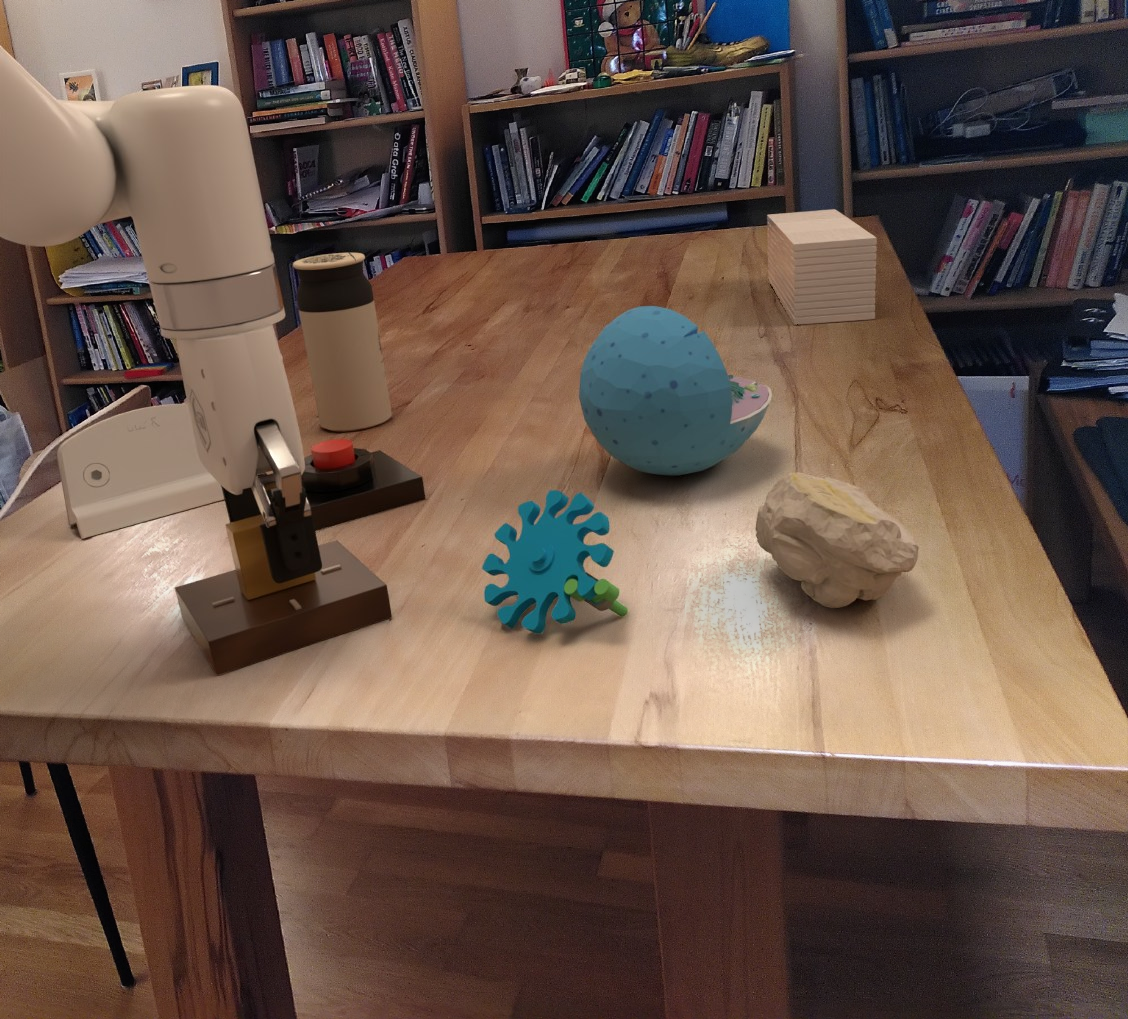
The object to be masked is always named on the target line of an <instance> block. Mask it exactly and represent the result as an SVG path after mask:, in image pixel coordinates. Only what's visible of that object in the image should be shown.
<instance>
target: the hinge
mask: <svg viewBox="0 0 1128 1019" xmlns="http://www.w3.org/2000/svg"><path fill="white" fill-rule="evenodd" d="M56 459H57V464H58V470H59V475H60V481H61V487H62V492H63V498H64V499H63V500H64V505H65V511H66V516H67V521H68V525H69V526H73V525H76V527H77V530H78V534H79V536H80V540H82V539H83V540H84V539H86V538H90V537H93V536H97V535H101V534H105V533H108V532H112V531H115V530H118V529H122V528H126V527H131V526H133V525H137V524H140V523H144V522H147V521H151V520H154V519H155V520H156V519H158V518H161V517H167V516H169V515H172V514H176V513H177V514H178V513H180V512H184V511H187V510H190V509H194V508H198V507H202V506H205V505H208V504H212V503H213V504H214V503H217V502H220V501H224V496H223V491H222V487H221V484H220V483H219V482H218V481H217V480H216V479H215V478H214V477H213V476H212V475H211V474H210V473H209V472H208V471H207V470H206V468H205V467H204V466H203V465H202V463H201V461H200V459H199V456H198V451H197V447H196V442H195V437H194V432H193V427H192V422H191V417H190V412H189V407H188V403H170V404H168V403H167V404H160V405H152V406H147V407H141V408H136V409H133V410H130V411H126V412H122V413H119V414H116V415H113V416H110V417H108V418H105V419H103V420H100V421H98V422H95V423H94V424H92V425H90V426H88V427H86V428H83V430H80V431H79V432H77V433H75V434H74V435H72V436H70V437H69V438H67V439H66V440H64V441H63V442H62V443H60V446H59V447H58V449H57V451H56Z"/></svg>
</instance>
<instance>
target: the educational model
mask: <svg viewBox="0 0 1128 1019" xmlns="http://www.w3.org/2000/svg"><path fill="white" fill-rule="evenodd" d="M581 367H582V368H581V369H580V374H579V375H580V376H579V388H578V390H579V391H578V398H579V403H580V407H581V411H582V416H583V419H584V422H585V424H586V425H587V427H588V428H589V430H590V432H591V433H592V435H593V437H594V438H595V440H596V442H597V443H598V445H600V446H601V448H603V449H604V450H605V451H606V452H607V453H608V454H609V455H610V456H611V457H612V458H613V459H616V460H617V461H619V462H620V463H622V464H624V465H626V466H628V467H629V468H631V469H634V470H636V471H638V472H641V473H647V474H651V475H659V476H677V477H679V476H682V475H688V474H693V473H698V472H704V471H705V470H707V469H709V468H712V467H714V466H715V465H717V464H718V463H720V462H722V461H724V460H725V459H727V458H728V457H730V456H731V455H733V454H735V453H736V452H737V451H739V449H740V448H742V447H743V445H744V444H745V443H746V442H747V441H748V440H749V439H750V437H752V435H753V434H754V433H755V432H756V431H757V429H758V428H759V426H760V424H761V423H762V421H763V420H764V418H765V415H766V414H767V411H768V408H769V405H770V403H771V401H772V398H773V393H772V390H771V387H769V386H768V385H766V384H758V381H755V380H752V379H749V378H746V377H741V376H734V375H733V374H728V371H727V369H726V366H725V363H724V362H723V360H722V358H721V355H720V353H719V351H718V350H717V348H716V347H715V344H714V343H713V341H712V340H711V339H710V337H709V336H708V334H707V333H706V331H705V330H704V331H703V330H702V331H700V332H699V326H698V325H697V324H696V323H695V322H693V321H692V320H690V319H689V318H688V317H686V316H685V315H684V314H681V313H679V312H678V311H675V310H673V309H671V308H666V307H661V306H657V305H645V306H643V305H642V306H637V307H634V308H630V309H628V310H626V311H624V312H623V313H621V314H619V315H617V317H615V319H613V320H611V321H610V322H609V323H608V324H607V325H605V326H604V328H603V329H602V330H601V331H600V333H599V335H598V336H597V337H596V339H595V340H594V342H593V343H592V344H591V346H590V348H589V350H588V351H587V353H586V355H585V357H584V359H583V363H582V366H581Z"/></svg>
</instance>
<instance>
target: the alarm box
mask: <svg viewBox="0 0 1128 1019" xmlns="http://www.w3.org/2000/svg"><path fill="white" fill-rule="evenodd" d="M353 448H354V454H355V460H356V461H354V462H353V463H351V464H349V465H345V466H341V467H337V468H327V469H321V468H314V463H313V457H312V454H310V455H307V456H306V457H304V461H305V470H304V472H303V474H302V475H301V481H302V487H303V488H305V490H306V491H305V494H307V500H308V502H309V505H310V508H311V513H312V518H313V523H314V528H315V532H317V531H320V530H322V529H326V528H330V527H334V526H338V525H341V524H344V523H348V522H351V521H354V520H358V519H362V518H365V517H369V516H372V515H376V514H380V513H383V512H386V511H390V510H393V509H397V508H400V507H401V508H402V507H405V506H407V505H410V504H414V503H418V502H422V501H426V500H427V499H426V498H427V497H426V493H425V485H424V480H423V476H422V475H420V474H419V473H417V472H415V471H414V470H412V469H411V468H409V467H407V466H406V465H405V464H403V463H401V462H399V461H398V460H397V459H395V458H393V457H392V456H390V455H389V454H387V453H385V452H384V451H382V450H379V449H378V450H375V451H371V452H370V451H369V450H367V449H365V448H357V447H353ZM277 490H278V488H274V489H271V492H272V496H273V491H277Z"/></svg>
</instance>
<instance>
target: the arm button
mask: <svg viewBox="0 0 1128 1019" xmlns="http://www.w3.org/2000/svg"><path fill="white" fill-rule="evenodd" d="M354 448H355V447H354V444H353V441H352V440H350V439H347V438H335V439H334V438H333V439H328V440H324V441H323V440H322V441H320V442H317V443H315V444H314V445H312V446H311V448H310V452H311V455H312V457H313V463H314V468H321V469H327V468H337V467H341V466H345V465H349V464H351V463H353V462H354V461H356V460H355V454H354Z"/></svg>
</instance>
